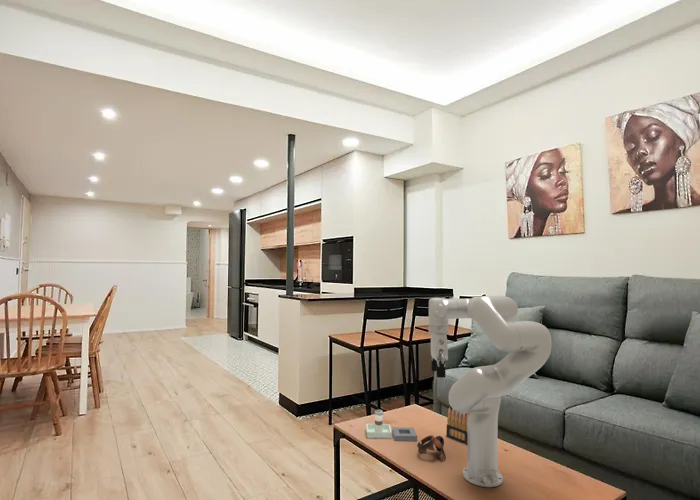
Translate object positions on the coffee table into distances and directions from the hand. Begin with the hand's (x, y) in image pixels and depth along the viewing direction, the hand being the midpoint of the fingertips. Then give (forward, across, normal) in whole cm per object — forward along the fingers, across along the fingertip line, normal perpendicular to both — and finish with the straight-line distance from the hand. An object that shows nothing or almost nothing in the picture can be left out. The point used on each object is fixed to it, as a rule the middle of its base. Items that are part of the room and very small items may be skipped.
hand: (438, 374), depth 158 cm
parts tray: (+28, +13, +22) cm, 38 cm away
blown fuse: (+28, +13, +22) cm, 38 cm away
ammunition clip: (+29, +8, -10) cm, 31 cm away
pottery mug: (+29, -6, +3) cm, 29 cm away
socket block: (+28, +11, +12) cm, 32 cm away
